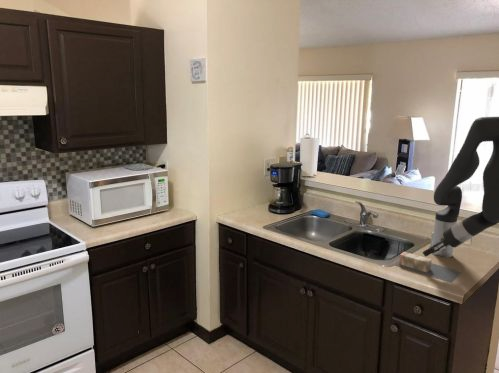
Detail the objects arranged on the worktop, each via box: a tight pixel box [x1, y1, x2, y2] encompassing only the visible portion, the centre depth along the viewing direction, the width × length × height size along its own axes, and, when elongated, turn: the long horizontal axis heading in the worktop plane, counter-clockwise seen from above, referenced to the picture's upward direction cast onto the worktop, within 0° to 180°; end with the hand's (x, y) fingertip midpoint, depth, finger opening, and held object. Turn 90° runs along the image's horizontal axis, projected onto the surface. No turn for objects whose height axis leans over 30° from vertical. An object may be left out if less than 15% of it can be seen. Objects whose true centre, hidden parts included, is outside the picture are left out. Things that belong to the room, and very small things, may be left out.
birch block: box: [398, 251, 433, 272], centre depth 180 cm, size 4×4×12 cm
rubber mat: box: [394, 261, 463, 283], centre depth 179 cm, size 24×14×1 cm, turn 47°
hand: (424, 254), depth 177 cm, fingers closed
